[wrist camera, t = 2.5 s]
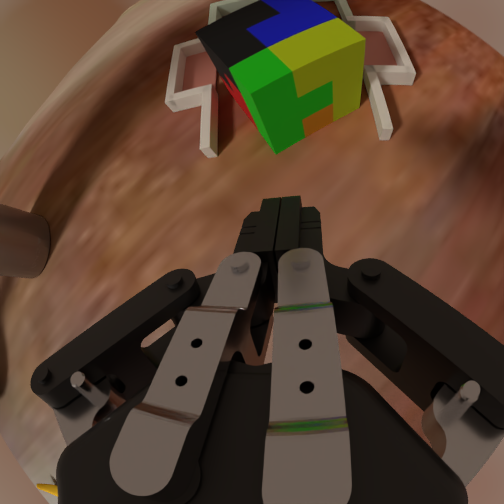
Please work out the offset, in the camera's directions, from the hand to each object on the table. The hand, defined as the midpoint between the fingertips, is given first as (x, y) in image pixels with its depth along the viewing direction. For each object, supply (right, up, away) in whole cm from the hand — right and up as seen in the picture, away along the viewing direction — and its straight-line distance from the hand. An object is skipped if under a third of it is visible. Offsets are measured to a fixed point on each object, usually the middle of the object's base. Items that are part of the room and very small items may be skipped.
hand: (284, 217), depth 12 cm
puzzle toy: (+3, +15, +16) cm, 22 cm away
